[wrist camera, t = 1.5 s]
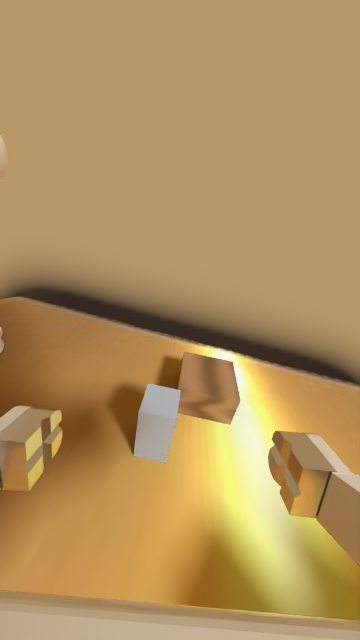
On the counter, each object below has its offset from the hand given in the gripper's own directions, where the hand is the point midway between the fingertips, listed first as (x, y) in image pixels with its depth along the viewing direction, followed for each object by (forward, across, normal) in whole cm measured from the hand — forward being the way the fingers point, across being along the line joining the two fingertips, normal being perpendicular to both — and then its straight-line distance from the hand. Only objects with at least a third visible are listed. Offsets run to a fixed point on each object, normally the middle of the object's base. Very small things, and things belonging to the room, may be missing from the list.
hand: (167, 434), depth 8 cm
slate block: (+18, +2, +18) cm, 26 cm away
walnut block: (+28, -6, +16) cm, 33 cm away
